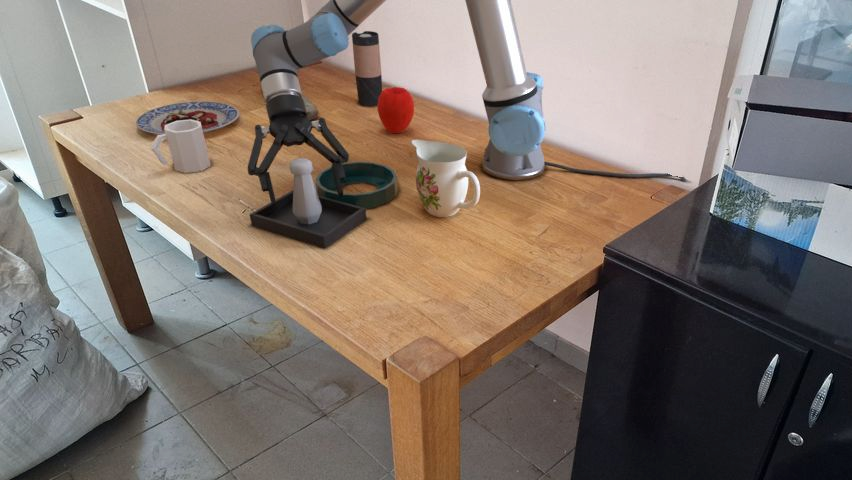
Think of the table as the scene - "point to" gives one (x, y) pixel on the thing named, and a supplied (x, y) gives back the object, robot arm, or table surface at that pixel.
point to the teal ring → (357, 174)
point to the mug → (184, 146)
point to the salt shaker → (304, 192)
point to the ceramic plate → (188, 116)
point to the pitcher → (443, 178)
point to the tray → (322, 233)
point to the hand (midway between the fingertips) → (308, 200)
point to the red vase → (395, 109)
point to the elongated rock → (310, 108)
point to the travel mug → (367, 67)
